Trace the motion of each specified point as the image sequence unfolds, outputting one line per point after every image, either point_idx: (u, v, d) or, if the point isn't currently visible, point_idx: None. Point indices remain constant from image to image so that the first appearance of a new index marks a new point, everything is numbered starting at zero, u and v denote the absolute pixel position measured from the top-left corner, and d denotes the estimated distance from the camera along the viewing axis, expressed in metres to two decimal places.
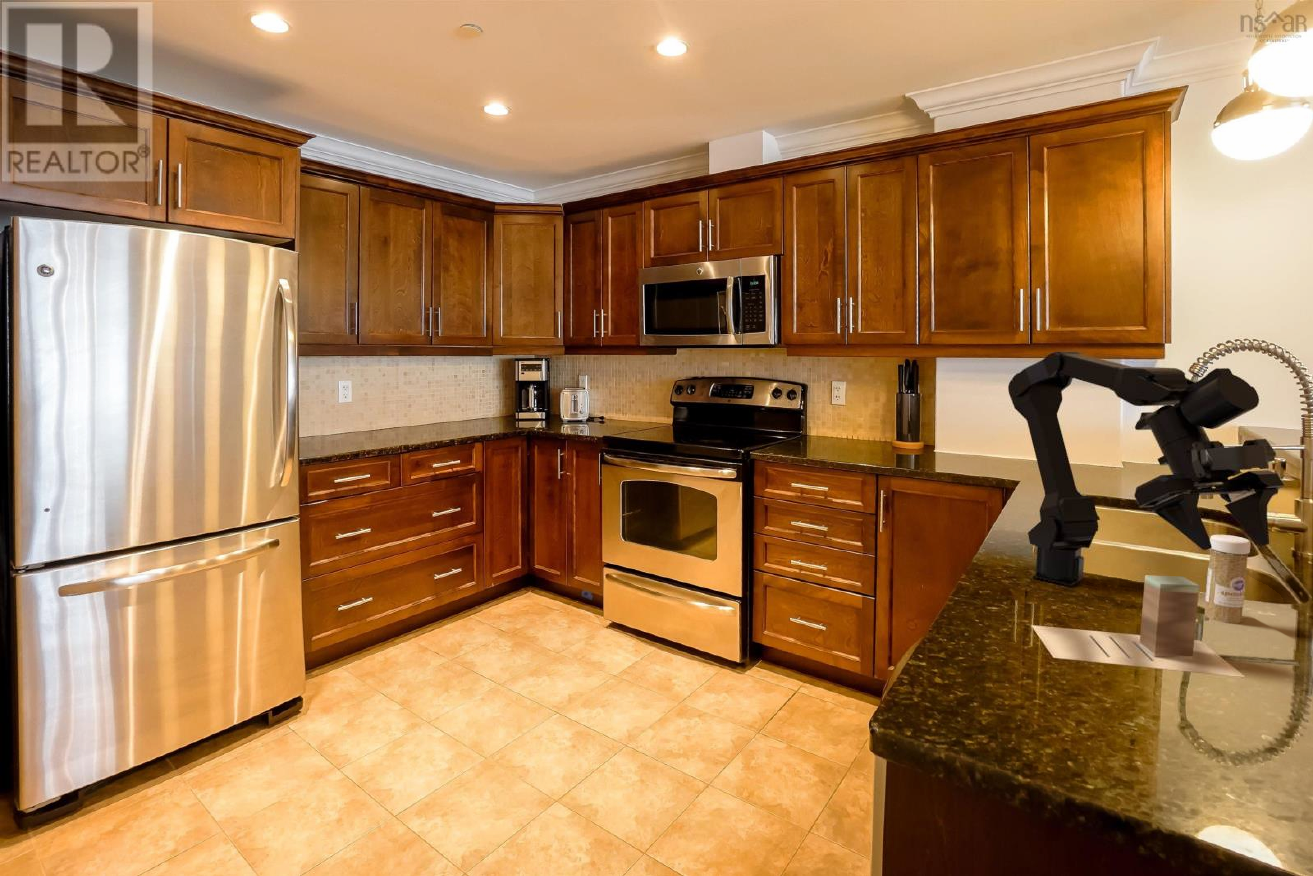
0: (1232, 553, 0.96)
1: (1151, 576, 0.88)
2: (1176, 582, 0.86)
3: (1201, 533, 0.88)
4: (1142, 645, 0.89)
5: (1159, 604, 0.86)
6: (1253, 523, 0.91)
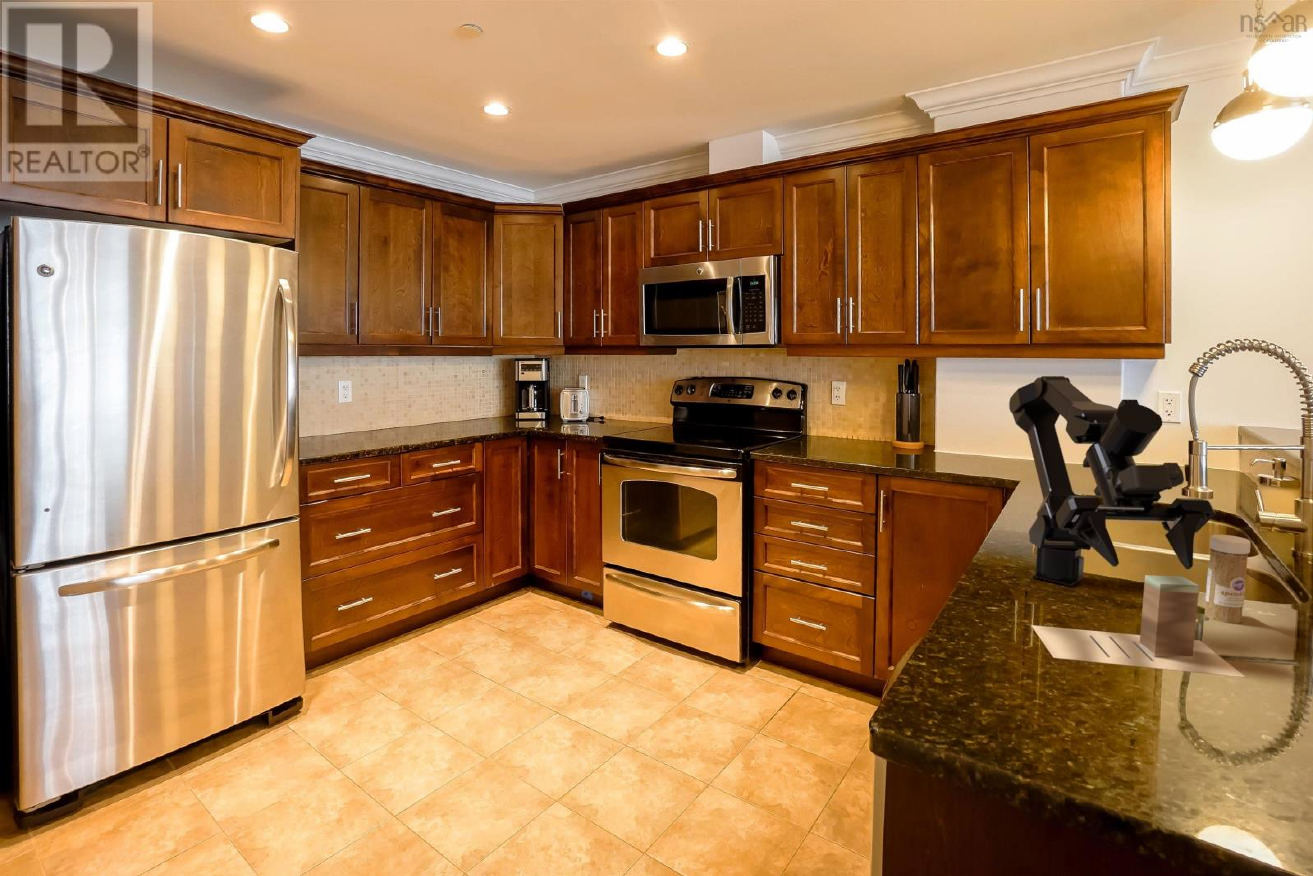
0: (1232, 553, 0.96)
1: (1151, 576, 0.88)
2: (1176, 582, 0.86)
3: (1108, 550, 0.93)
4: (1142, 645, 0.89)
5: (1159, 604, 0.86)
6: (1181, 547, 0.92)
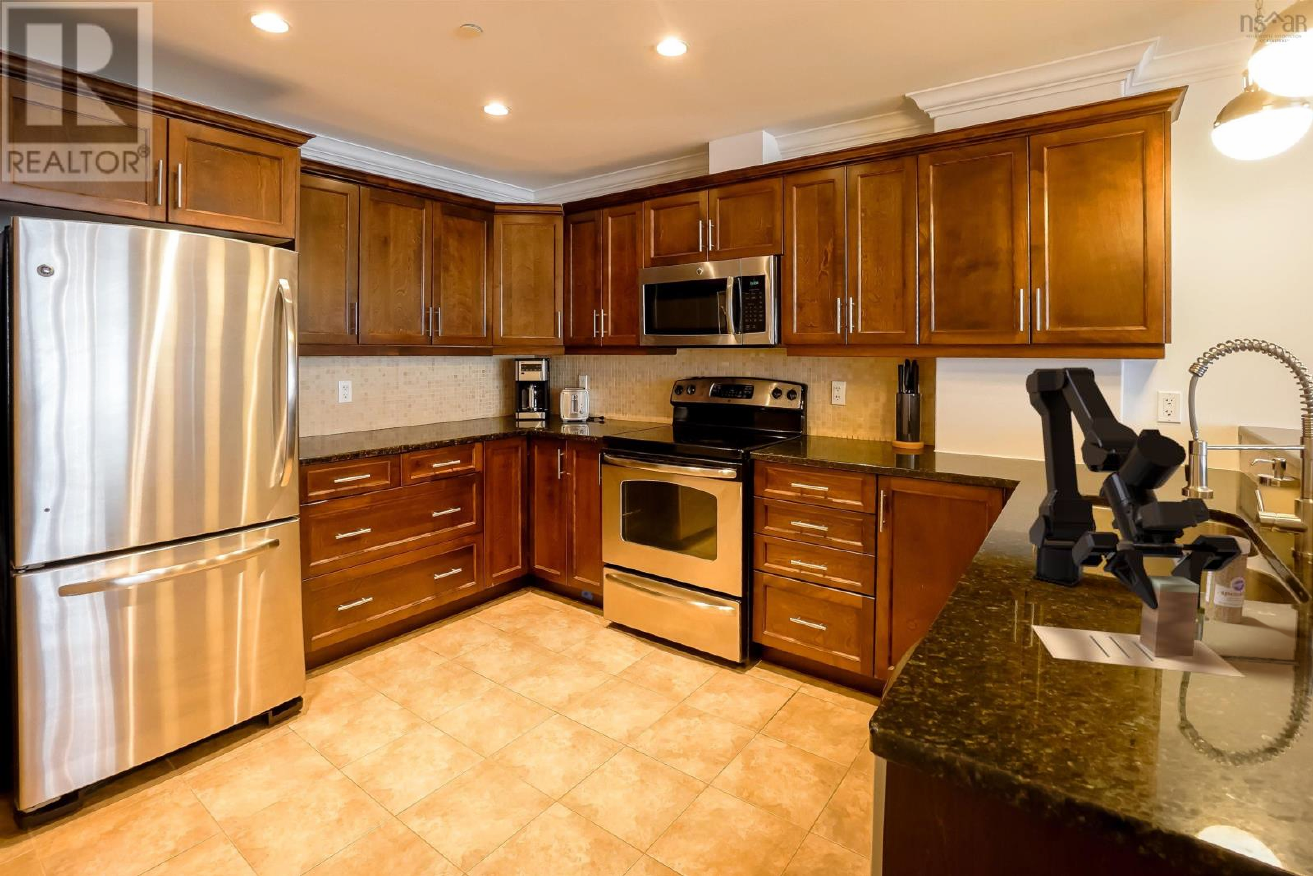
0: None
1: (1151, 576, 0.88)
2: (1176, 582, 0.86)
3: (1147, 591, 0.87)
4: (1142, 645, 0.89)
5: (1159, 604, 0.86)
6: None
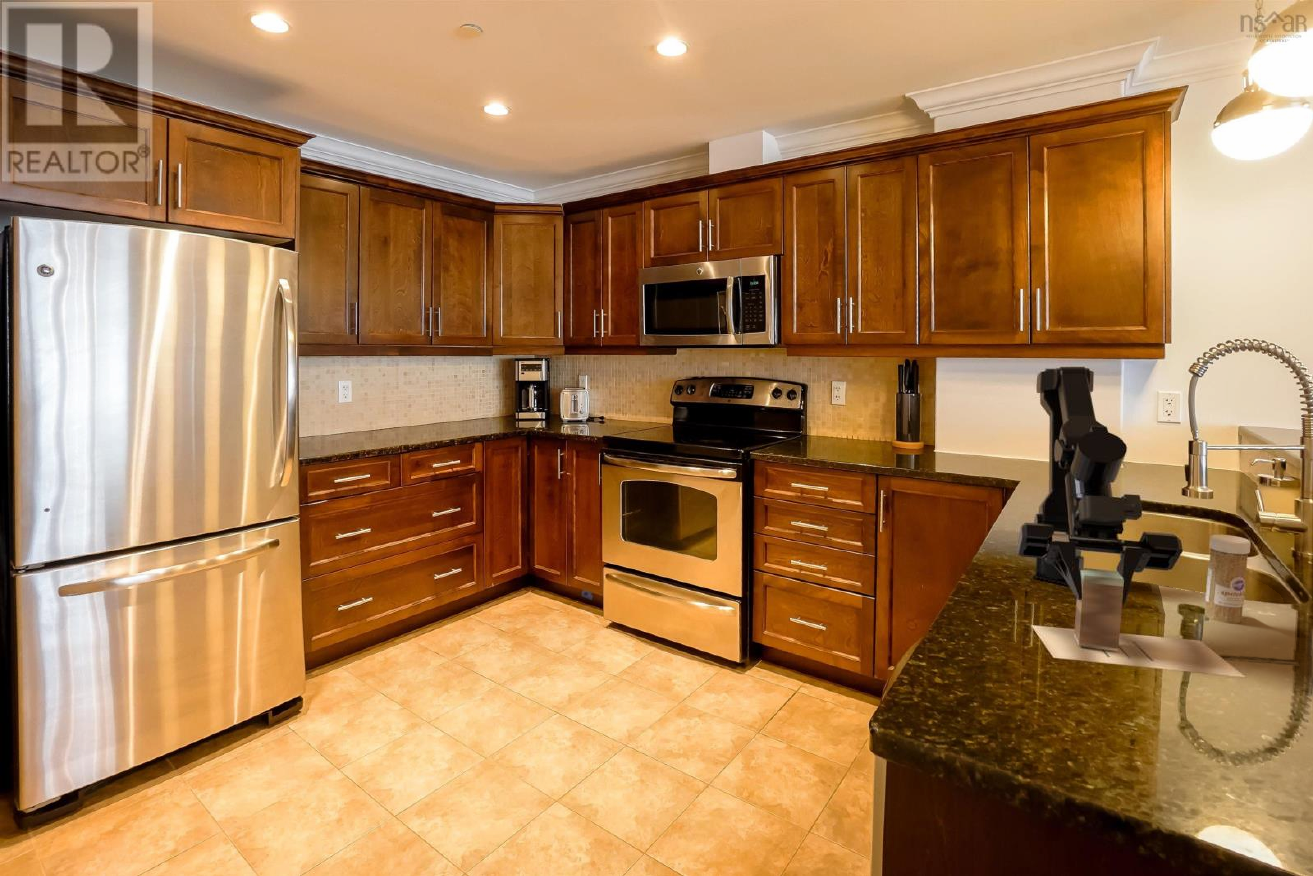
0: (1232, 553, 0.96)
1: (1084, 568, 0.91)
2: (1102, 575, 0.88)
3: (1074, 582, 0.90)
4: (1075, 635, 0.92)
5: (1082, 594, 0.89)
6: None
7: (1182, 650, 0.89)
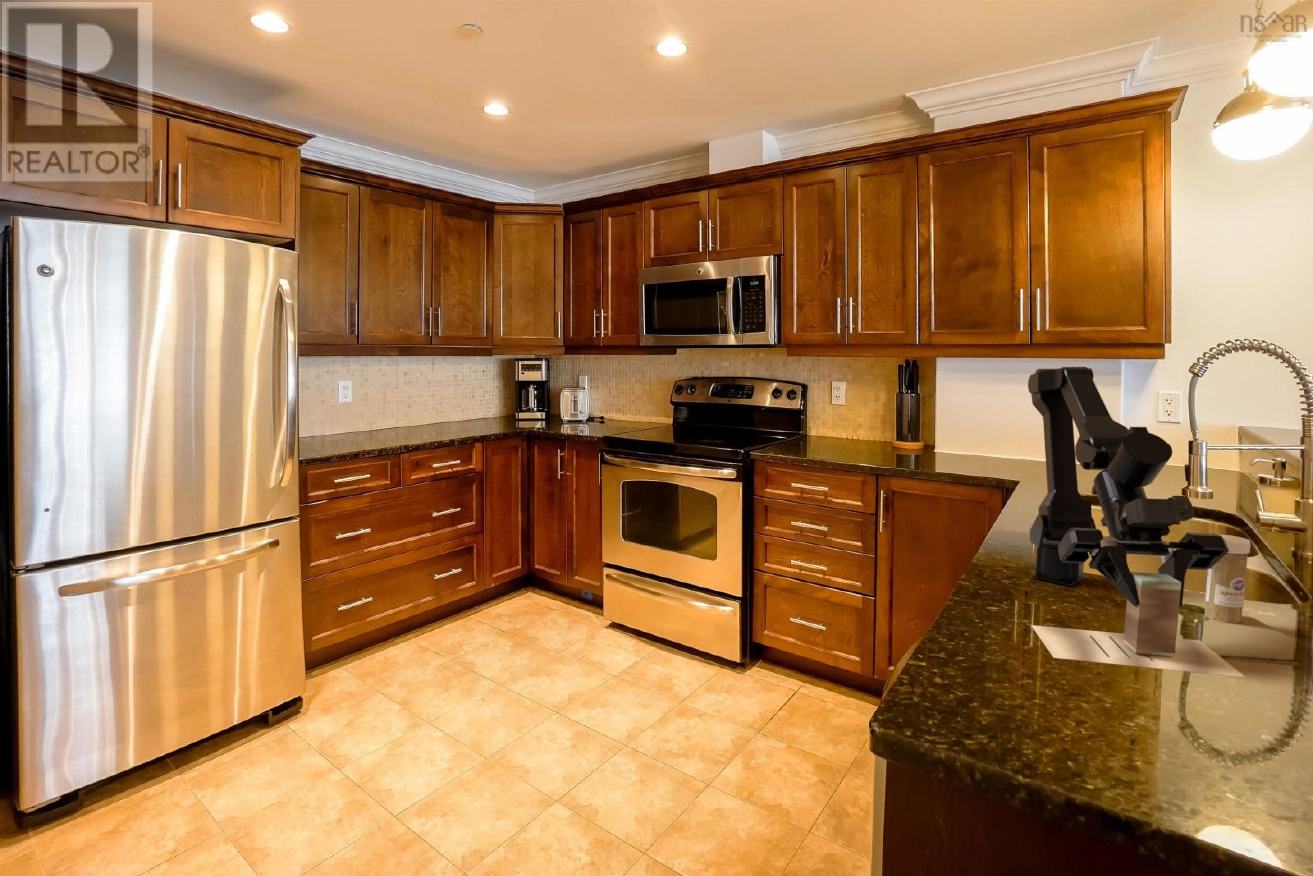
0: (1232, 553, 0.96)
1: (1135, 573, 0.89)
2: (1158, 579, 0.86)
3: (1129, 588, 0.88)
4: (1125, 641, 0.90)
5: (1140, 600, 0.86)
6: None
7: (1182, 650, 0.89)
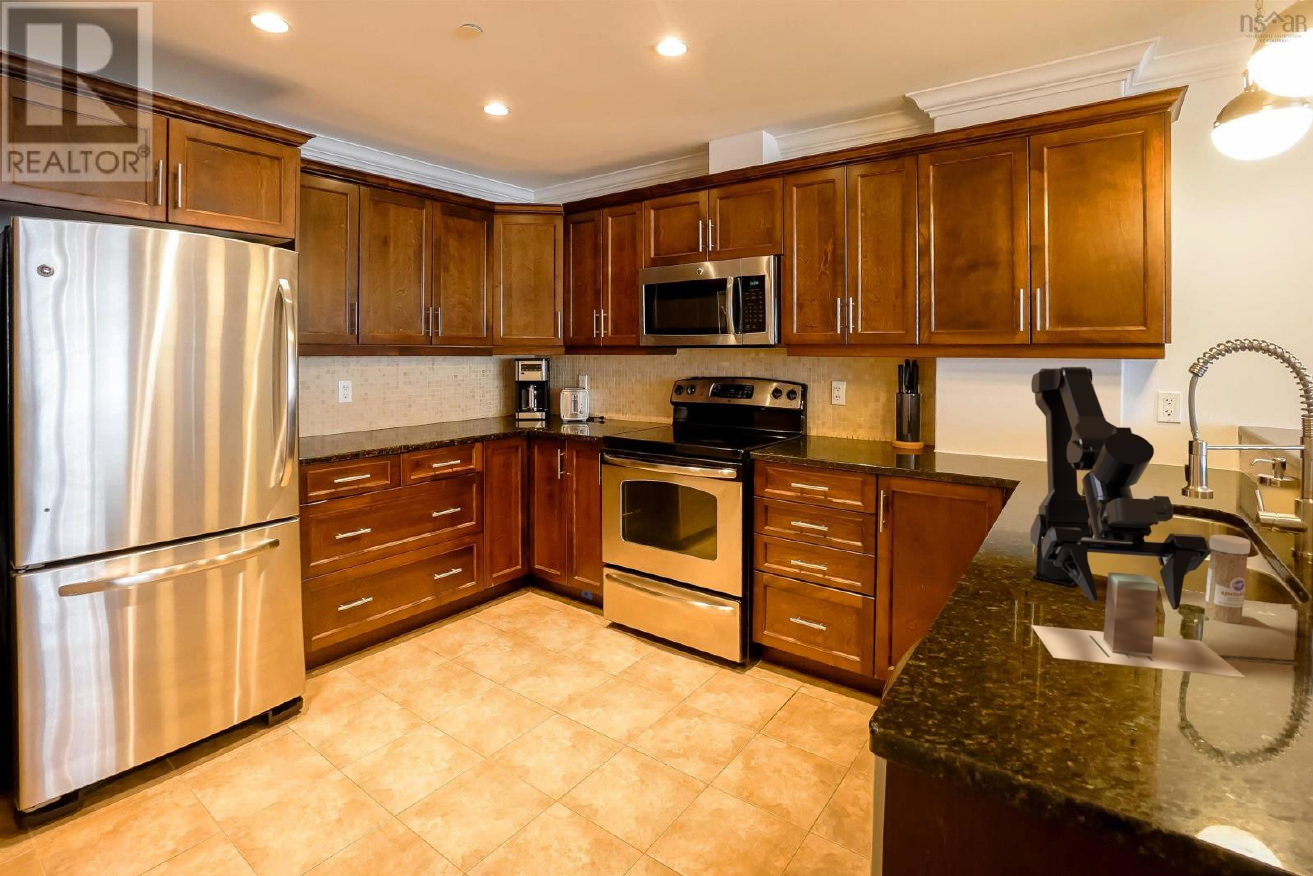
0: (1232, 553, 0.96)
1: (1114, 573, 0.90)
2: (1135, 580, 0.87)
3: (1088, 585, 0.89)
4: (1105, 641, 0.91)
5: (1116, 600, 0.87)
6: (1170, 586, 0.87)
7: (1182, 650, 0.89)
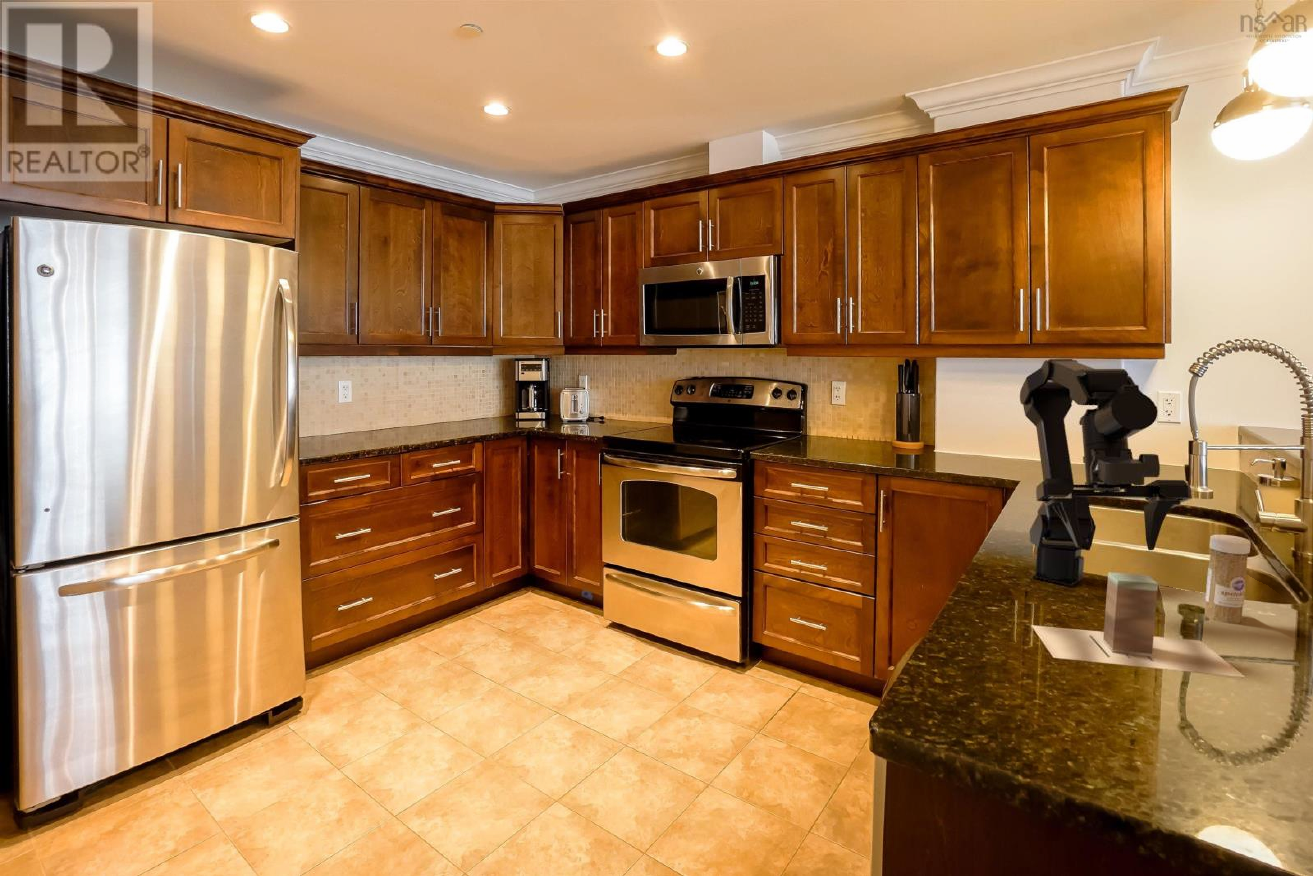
0: (1232, 553, 0.96)
1: (1114, 573, 0.90)
2: (1135, 580, 0.87)
3: (1074, 533, 0.99)
4: (1105, 641, 0.91)
5: (1116, 600, 0.87)
6: (1149, 528, 0.97)
7: (1182, 650, 0.89)
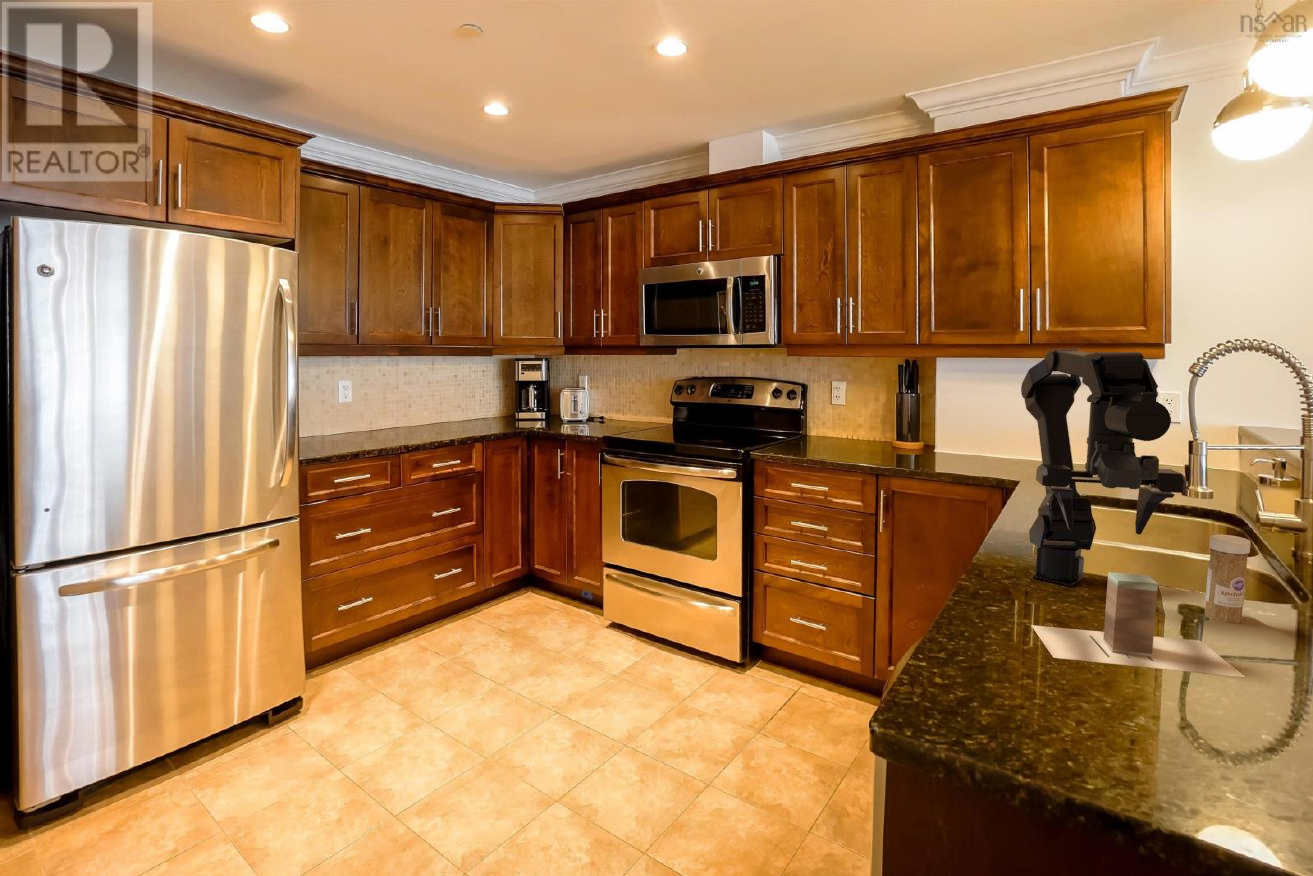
0: (1232, 553, 0.96)
1: (1114, 573, 0.90)
2: (1135, 580, 0.87)
3: (1067, 517, 1.05)
4: (1105, 641, 0.91)
5: (1116, 600, 0.87)
6: (1140, 514, 1.02)
7: (1182, 650, 0.89)
